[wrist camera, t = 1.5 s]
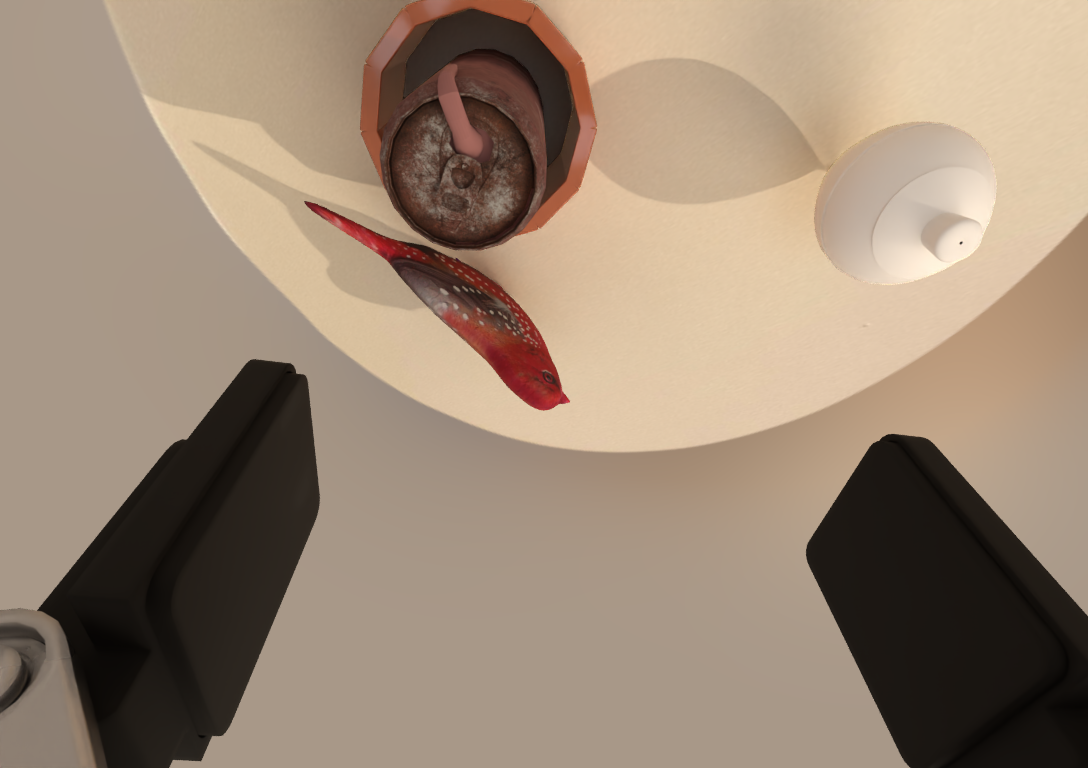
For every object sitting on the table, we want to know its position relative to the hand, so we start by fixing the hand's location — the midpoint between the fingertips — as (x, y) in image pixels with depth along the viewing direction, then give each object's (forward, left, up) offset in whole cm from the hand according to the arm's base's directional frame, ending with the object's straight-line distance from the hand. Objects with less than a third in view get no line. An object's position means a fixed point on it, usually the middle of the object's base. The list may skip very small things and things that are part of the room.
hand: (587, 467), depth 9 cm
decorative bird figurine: (+1, -9, -28) cm, 29 cm away
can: (-3, -1, -28) cm, 28 cm away
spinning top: (+14, +11, -28) cm, 33 cm away
